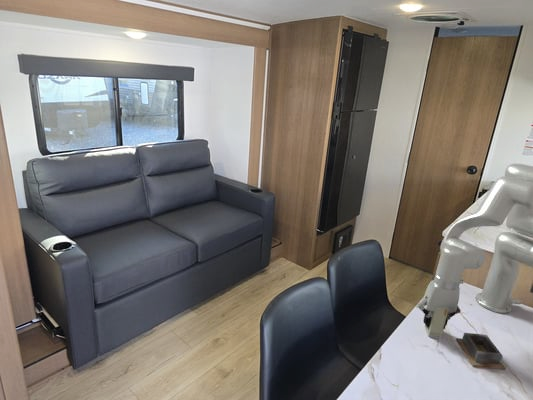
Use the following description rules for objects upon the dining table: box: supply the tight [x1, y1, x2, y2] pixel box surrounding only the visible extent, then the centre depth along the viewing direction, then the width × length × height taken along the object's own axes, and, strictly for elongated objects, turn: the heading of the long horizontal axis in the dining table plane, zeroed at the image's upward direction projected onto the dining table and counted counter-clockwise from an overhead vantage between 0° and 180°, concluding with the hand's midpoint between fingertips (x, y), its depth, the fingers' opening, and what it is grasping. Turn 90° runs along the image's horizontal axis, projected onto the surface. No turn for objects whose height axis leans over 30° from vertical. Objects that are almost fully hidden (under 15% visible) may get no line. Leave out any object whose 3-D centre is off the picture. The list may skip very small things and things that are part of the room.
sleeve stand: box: [455, 332, 506, 371], centre depth 116 cm, size 10×12×4 cm
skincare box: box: [424, 307, 449, 339], centre depth 123 cm, size 6×4×12 cm
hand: (434, 325), depth 124 cm, fingers closed on skincare box, 4 cm apart
